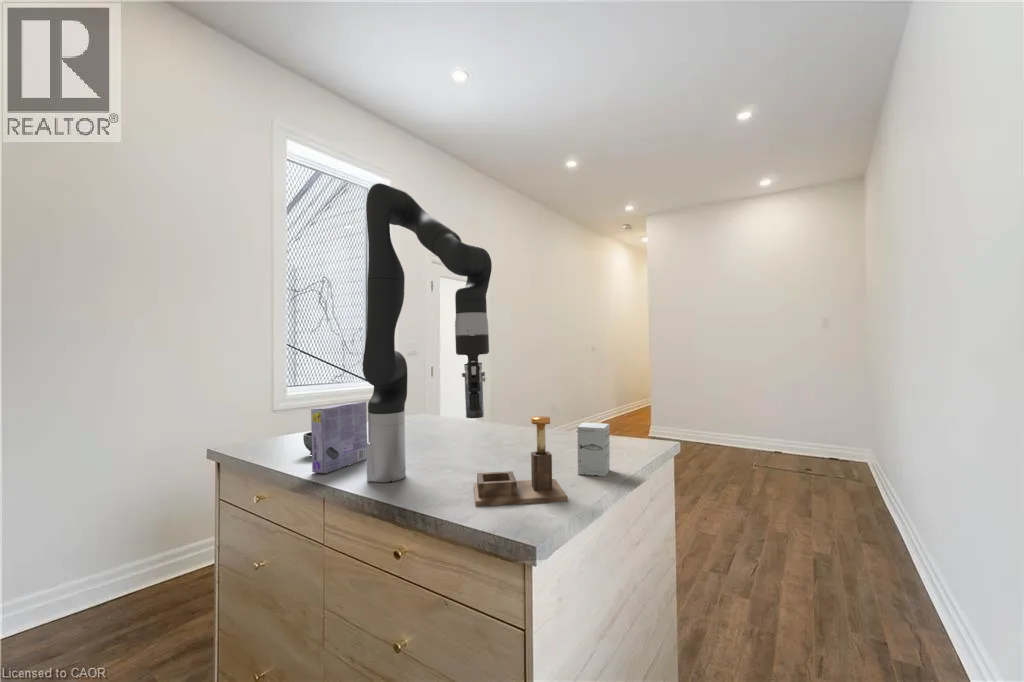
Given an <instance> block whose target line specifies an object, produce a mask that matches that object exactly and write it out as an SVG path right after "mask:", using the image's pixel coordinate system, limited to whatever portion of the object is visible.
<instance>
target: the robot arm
mask: <svg viewBox="0 0 1024 682" xmlns="http://www.w3.org/2000/svg"><path fill="white" fill-rule="evenodd" d="M365 202H366V203H365V204H366V205H365V213H366V226H367V227H366V228H367V239H368V240H367V241H368V245H367V246H368V249H367V250H368V262H367V263H368V265H367V266H368V267H367V287H366V288H367V291H366V292H367V297H366V298H367V306H366V335H365V344H364V349H363V350H364V351H363V359H362V372H363V373H362V374H363V376H364V378H365V380H366V381H367V383H368V384H370V385H371V386H373V393H372V396H371V398H370V399H369V401H368V404H367V459H366V481H367V482H373V483H391V482H390V481H392V482H396V481H401V480H403V479H405V478H406V475H407V474H406V471H407V468H406V419H405V418H406V417H405V416H406V414H405V413H406V412H405V411H406V410H405V409H406V408H405V405H406V401H407V398H408V397H407V396H408V364H407V360H406V358H405V356H404V355H403V354H402V353H401V352H400V351H397V350H396V349H395V348H396V345H395V341H396V340H395V337H396V336H395V334H396V328H397V323H398V320H399V317H400V314H401V312H402V308H403V305H404V299H405V279H406V277H405V272H404V267H403V265H402V263H401V261H400V259H399V257H398V255H397V252H396V250H395V248H394V245H393V242H392V238H391V225H393V226H399V227H402V228H405V229H408V230H409V231H411V232H413V233H414V234H415V235H416V238H417V240H418V241H419V243H420V245H422V246H423V247H425V249H427V250H428V251H430V252H431V253H432V254H433V255H435V256H436V257H438V259H439V260H440V262H441V263H442V264H443V265H444V267H445V268H446V269H447V270H448V271H450V272H451V273H452V274H455V275H457V276H460V277H466V282H465V283H466V284H465V286H463V287H459V288H458V289H457V290H456V291H455V294H454V296H455V297H454V299H455V300H454V301H455V305H454V306H455V321H454V333H455V334H454V335H455V354H456V355H457V356H467V362H464V363H463V365H464V373H466V383H467V384H468V393H469V405H470V411H479V409H480V404H479V394H480V383H481V372H483V371H482V370H483V363H482V361H481V362H479V356H481V355H488V354H489V353H490V341H489V339H490V334H489V319H488V312H487V309H488V308H487V292H488V289H489V284H490V280H491V279H490V278H491V275H492V270H493V269H492V267H493V265H492V264H493V263H492V259H491V256H490V254H489V253H488V251H487V250H486V249H484V248H482V247H479V246H475V245H469V244H467V243H464V242H463V241H462V239H461V236H459V235H458V234H457V233H456V232H455V231H453V230H452V229H450V227H448V226H446V225H444V224H443V223H442V222H440V221H439V220H437V219H436V218H434V217H433V216H431V215H430V214H429V213H428V212H427V211H425V210H424V208H422V207H421V205H419V203H418V202H417V201H416V200H415V199H414V198H413V196H411V195H410V194H409V193H408V192H406V191H404V190H402V189H400V188H398V187H394V186H391V185H389V184H386V183H382V182H376V183H374V184H373V185H372V186H371V187H370V188H369V190H368V193H367V196H366V201H365ZM472 383H476V384H477V386H471V384H472ZM477 393H478V394H477Z"/></svg>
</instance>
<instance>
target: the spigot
mask: <svg viewBox="0 0 1024 682" xmlns="http://www.w3.org/2000/svg"><path fill="white" fill-rule="evenodd" d="M485 376H486V372H485V371H481V383H480V394H479V404H480V409H479V411H470V405H469V393H468V384H467V383H466V372H461V377H462V378H464V393H465V394H464V396H465V397H464V398H465V418H467V419H481V418H482V419H483V418H484V415H485V414H484V413H485V412H484V390H483V389H484V387H483V385H484V384H483V382H484V381H483V377H485ZM471 386H477V384H476V383H472V384H471ZM477 394H478V393H477Z"/></svg>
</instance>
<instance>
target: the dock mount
mask: <svg viewBox="0 0 1024 682" xmlns="http://www.w3.org/2000/svg"><path fill="white" fill-rule="evenodd" d="M530 459H531V460H530V461H531V463H530V464H531V465H530V466H531V469H530V470H531V471H530V473H531V479H529V480H517V479H516V476H515V474H514V471H510V470H509V471H494V472H477V473H476V481H477V482H473V495H474V505H475V507H483V506H482V505H486V506H502V505H517V504H519V505H521V504H535V503H555V502H568V501H569V499H568V494H567V493H566V492H565V491H564V489H563V488H562V486H561V485H560V484H559V482H558V481H557V479H556V478H553V455H552V453H551V452H550V451H546V455H537V450H536V451H531V452H530Z"/></svg>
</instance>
